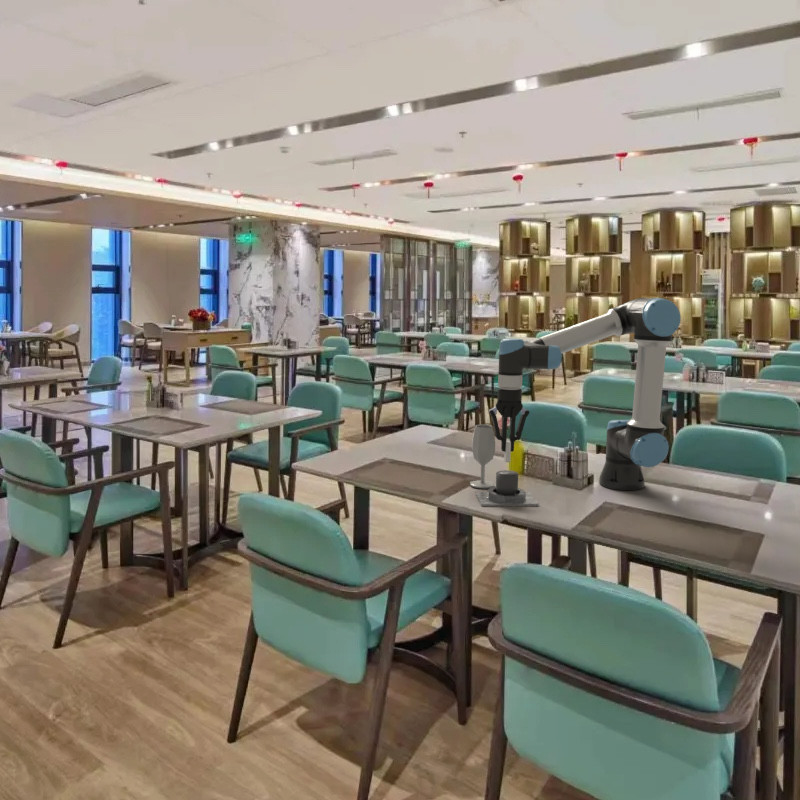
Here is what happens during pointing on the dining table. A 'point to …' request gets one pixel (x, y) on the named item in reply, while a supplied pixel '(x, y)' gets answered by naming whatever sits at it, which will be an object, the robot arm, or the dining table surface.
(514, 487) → the dark grey cylinder
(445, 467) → the dining table surface
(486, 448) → the wineglass
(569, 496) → the dining table surface
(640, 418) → the robot arm
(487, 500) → the gray tray with ring
